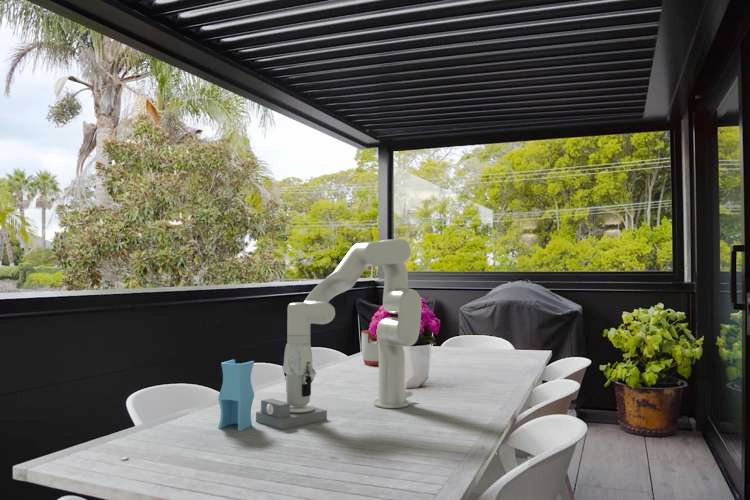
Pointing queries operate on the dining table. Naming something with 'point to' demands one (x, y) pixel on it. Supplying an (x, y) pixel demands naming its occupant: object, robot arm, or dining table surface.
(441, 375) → the dining table surface
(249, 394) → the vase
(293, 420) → the scale
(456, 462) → the dining table surface
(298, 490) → the dining table surface
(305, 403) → the can
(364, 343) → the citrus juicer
